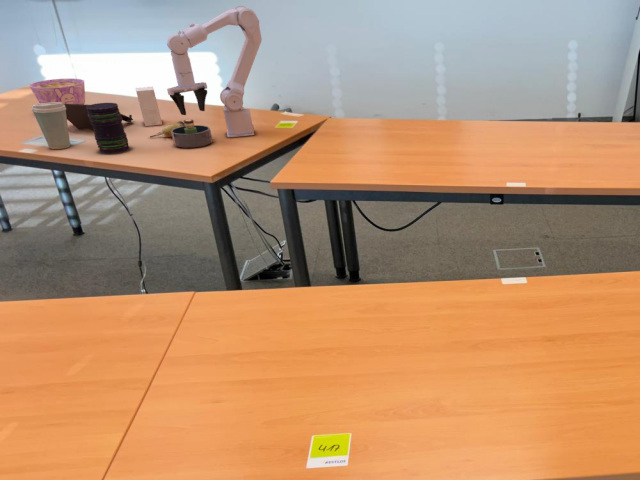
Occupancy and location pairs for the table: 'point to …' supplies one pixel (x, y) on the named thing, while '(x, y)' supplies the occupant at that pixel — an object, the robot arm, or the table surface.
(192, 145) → the bowl
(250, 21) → the robot arm
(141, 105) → the small box
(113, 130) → the dark striped cylinder
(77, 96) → the bowl of food
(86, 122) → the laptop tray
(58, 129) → the disposable coffee cup
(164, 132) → the decorative bird model
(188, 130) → the peg doll
